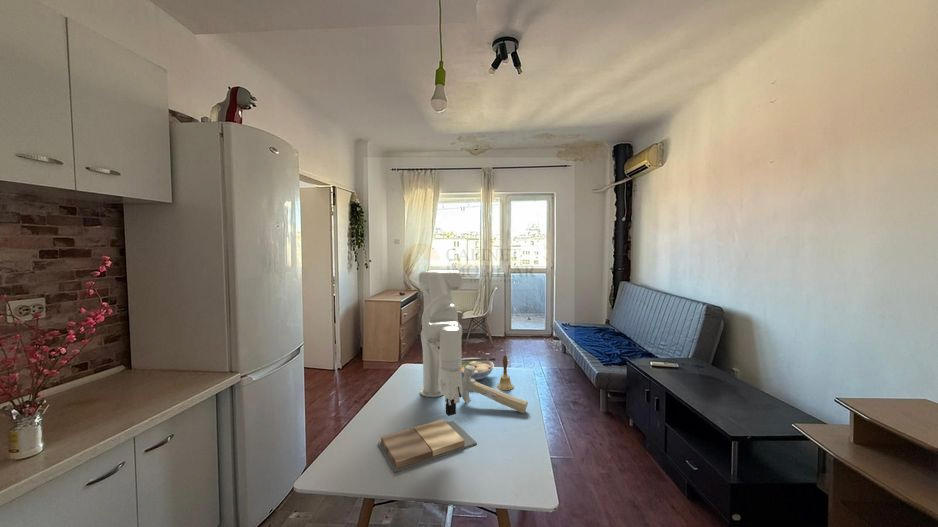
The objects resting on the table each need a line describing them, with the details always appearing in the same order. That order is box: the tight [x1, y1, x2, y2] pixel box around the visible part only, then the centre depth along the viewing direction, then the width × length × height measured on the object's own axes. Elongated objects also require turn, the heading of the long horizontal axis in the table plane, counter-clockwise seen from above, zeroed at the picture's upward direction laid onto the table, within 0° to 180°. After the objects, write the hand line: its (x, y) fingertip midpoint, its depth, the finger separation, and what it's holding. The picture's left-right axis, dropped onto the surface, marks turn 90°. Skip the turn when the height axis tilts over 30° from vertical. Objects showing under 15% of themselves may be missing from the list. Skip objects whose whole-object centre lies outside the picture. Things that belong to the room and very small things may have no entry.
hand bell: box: [496, 354, 515, 391], centre depth 171 cm, size 8×8×16 cm
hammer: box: [461, 365, 529, 414], centre depth 151 cm, size 16×5×30 cm
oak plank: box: [413, 418, 464, 456], centre depth 125 cm, size 17×12×2 cm
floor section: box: [377, 420, 478, 473], centre depth 123 cm, size 18×30×3 cm, turn 120°
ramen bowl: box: [460, 357, 496, 382], centre depth 183 cm, size 25×23×8 cm
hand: (450, 414), depth 121 cm, fingers closed
